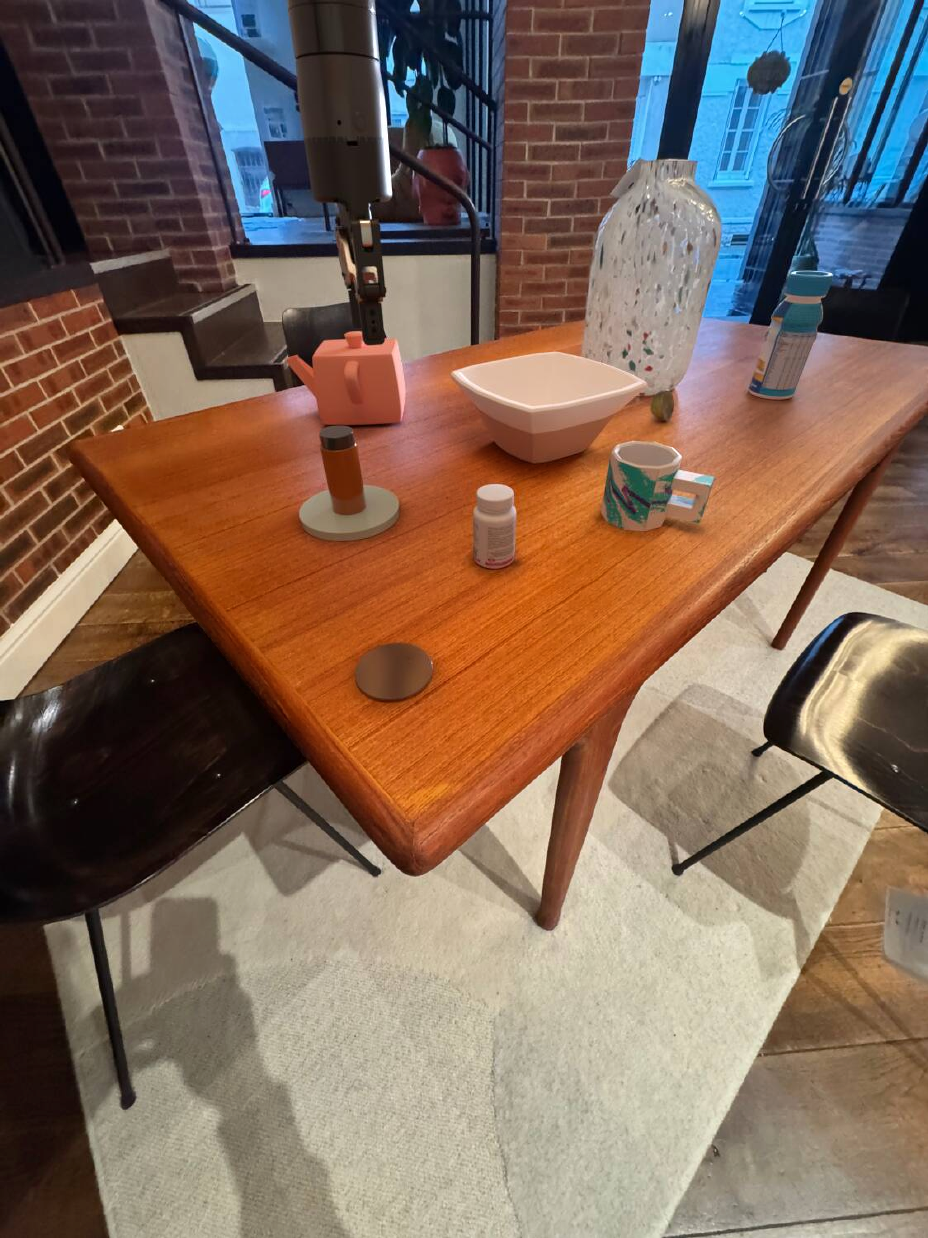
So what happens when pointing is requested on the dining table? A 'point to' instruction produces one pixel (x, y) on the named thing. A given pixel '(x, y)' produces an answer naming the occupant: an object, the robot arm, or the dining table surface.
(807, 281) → the beverage bottle
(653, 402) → the lime
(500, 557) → the pill bottle
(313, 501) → the plate
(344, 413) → the teapot
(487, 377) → the bowl
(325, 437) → the spice bottle
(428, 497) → the dining table surface
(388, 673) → the coaster
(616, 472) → the mug
